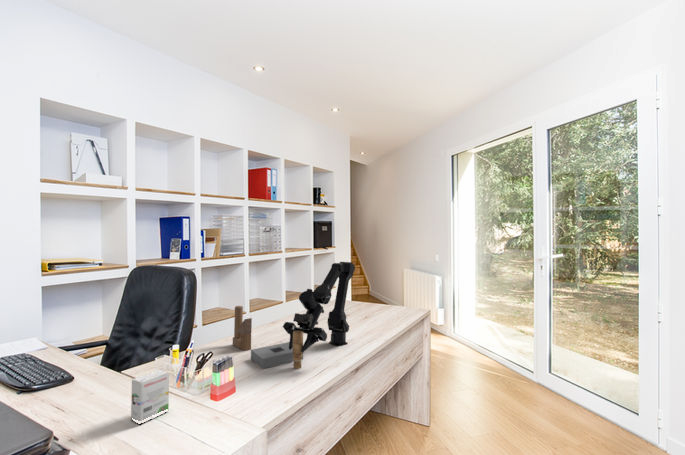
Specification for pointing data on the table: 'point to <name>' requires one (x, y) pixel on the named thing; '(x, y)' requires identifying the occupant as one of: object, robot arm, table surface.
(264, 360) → the seat board
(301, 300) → the robot arm
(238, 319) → the wooden block
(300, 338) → the teak leg
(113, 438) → the table surface
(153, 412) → the ink box
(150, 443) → the table surface
